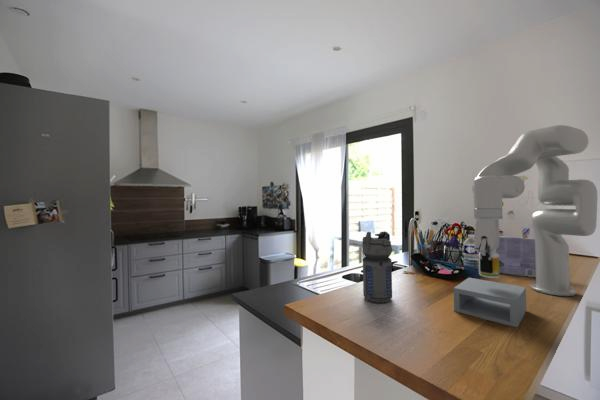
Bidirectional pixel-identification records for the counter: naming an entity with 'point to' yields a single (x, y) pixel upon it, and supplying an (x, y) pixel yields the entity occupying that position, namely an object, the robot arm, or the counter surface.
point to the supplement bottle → (495, 266)
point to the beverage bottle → (377, 268)
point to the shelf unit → (491, 301)
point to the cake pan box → (517, 256)
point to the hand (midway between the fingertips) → (489, 269)
